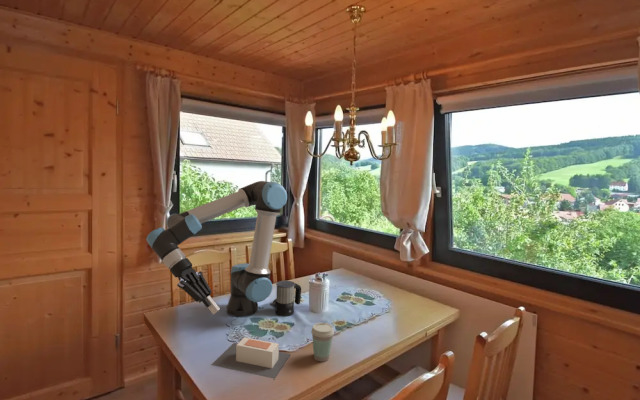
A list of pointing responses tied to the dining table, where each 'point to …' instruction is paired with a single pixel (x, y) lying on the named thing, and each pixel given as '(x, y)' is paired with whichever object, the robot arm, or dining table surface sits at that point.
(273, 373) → the charcoal mat
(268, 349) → the cream block
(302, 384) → the dining table surface
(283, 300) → the milk frother
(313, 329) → the coffee cup
